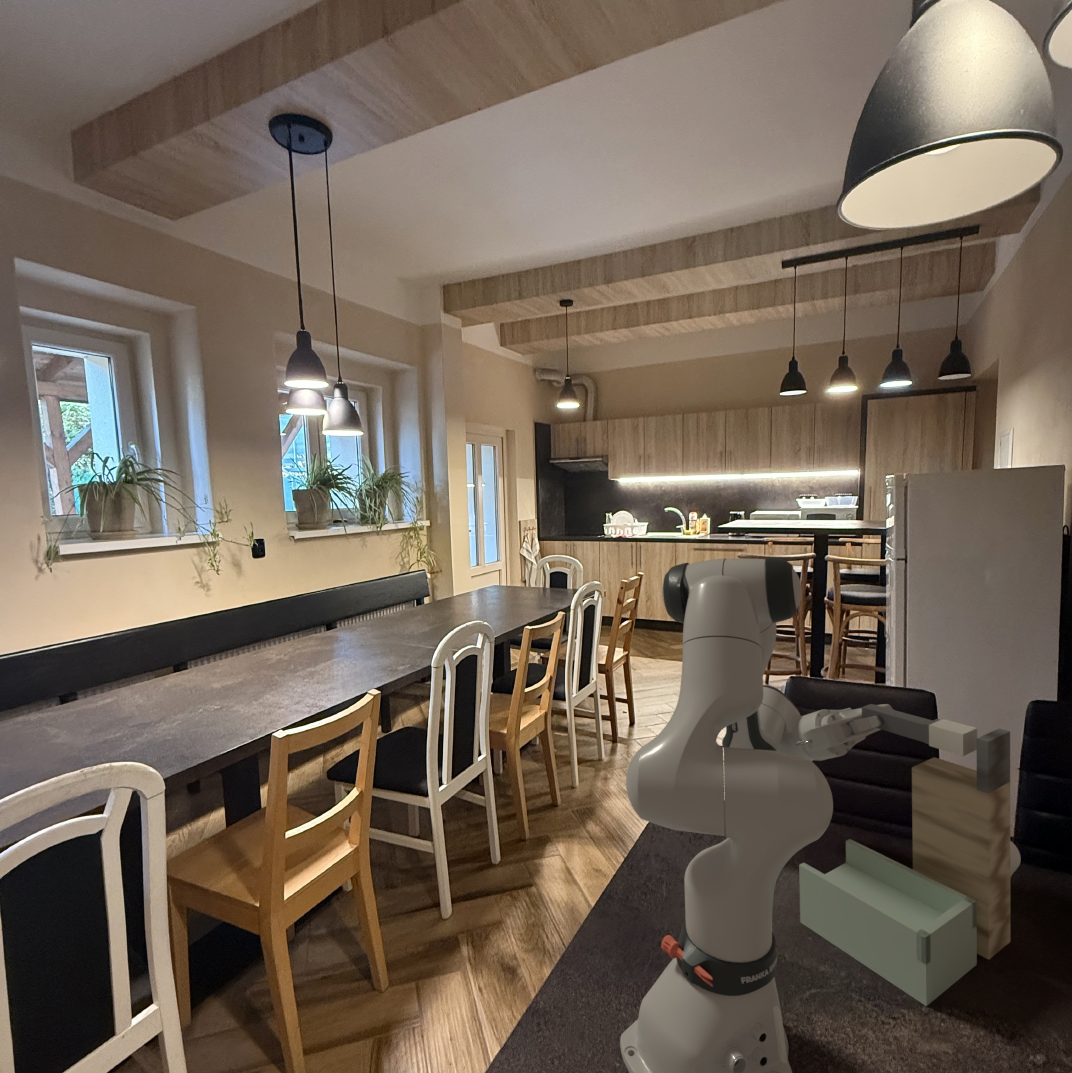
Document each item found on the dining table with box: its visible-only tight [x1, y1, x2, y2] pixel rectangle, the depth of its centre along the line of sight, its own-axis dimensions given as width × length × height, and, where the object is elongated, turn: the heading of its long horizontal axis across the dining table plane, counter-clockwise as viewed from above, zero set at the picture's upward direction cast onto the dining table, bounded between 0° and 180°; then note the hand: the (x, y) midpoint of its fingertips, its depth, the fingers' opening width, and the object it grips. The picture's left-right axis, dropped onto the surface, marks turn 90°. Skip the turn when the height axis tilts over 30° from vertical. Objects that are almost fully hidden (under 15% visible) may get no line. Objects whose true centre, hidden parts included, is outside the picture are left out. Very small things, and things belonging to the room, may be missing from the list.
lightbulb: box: [1010, 840, 1022, 880], centre depth 104 cm, size 6×6×11 cm
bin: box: [798, 838, 978, 1007], centre depth 95 cm, size 14×20×10 cm
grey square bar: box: [861, 703, 978, 757], centre depth 102 cm, size 4×17×4 cm, turn 30°
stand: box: [911, 728, 1011, 961], centre depth 96 cm, size 7×11×34 cm, turn 30°
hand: (887, 716), depth 106 cm, fingers closed on grey square bar, 3 cm apart
